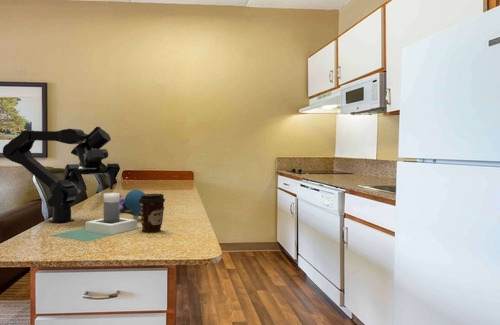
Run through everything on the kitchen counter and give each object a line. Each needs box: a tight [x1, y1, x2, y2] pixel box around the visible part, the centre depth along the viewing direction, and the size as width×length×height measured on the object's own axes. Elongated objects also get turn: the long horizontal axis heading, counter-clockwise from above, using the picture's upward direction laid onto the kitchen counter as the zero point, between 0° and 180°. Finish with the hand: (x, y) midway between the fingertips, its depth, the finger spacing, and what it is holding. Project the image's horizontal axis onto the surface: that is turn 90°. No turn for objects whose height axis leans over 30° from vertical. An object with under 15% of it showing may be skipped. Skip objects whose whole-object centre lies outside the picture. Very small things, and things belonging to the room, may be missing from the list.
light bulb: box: [124, 189, 146, 221], centre depth 155 cm, size 8×8×12 cm
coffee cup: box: [139, 193, 166, 234], centre depth 132 cm, size 9×8×13 cm
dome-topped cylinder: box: [103, 192, 121, 224], centre depth 132 cm, size 5×5×12 cm
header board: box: [49, 217, 142, 243], centre depth 130 cm, size 16×24×4 cm, turn 153°
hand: (99, 189), depth 140 cm, fingers open, 9 cm apart
